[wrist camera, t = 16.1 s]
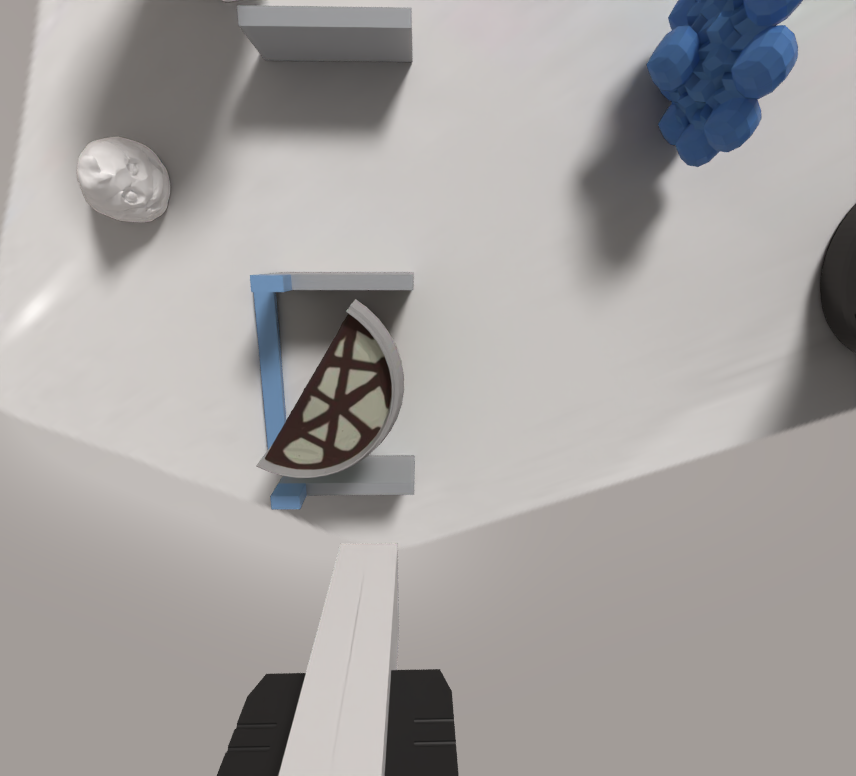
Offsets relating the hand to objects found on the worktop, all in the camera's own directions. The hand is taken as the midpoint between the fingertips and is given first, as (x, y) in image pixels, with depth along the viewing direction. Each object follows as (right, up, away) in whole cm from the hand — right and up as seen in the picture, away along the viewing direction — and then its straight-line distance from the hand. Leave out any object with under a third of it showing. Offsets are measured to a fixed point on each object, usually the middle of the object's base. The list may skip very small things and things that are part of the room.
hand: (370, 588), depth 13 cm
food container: (-4, +6, +26) cm, 27 cm away
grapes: (+17, +26, +21) cm, 38 cm away
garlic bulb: (-19, +20, +22) cm, 35 cm away
